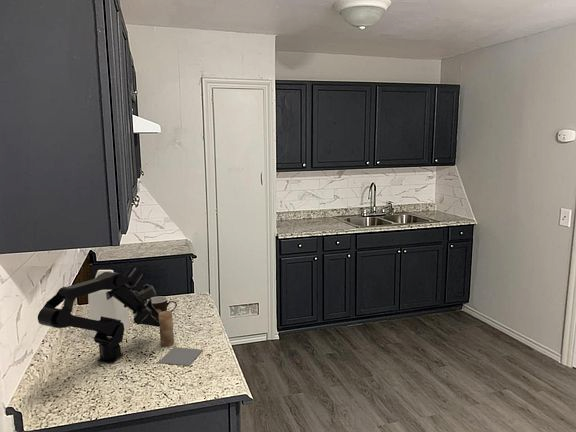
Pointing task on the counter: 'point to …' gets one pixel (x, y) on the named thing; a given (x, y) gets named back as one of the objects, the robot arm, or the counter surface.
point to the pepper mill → (166, 328)
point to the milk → (106, 307)
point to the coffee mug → (161, 304)
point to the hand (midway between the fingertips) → (159, 321)
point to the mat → (180, 356)
